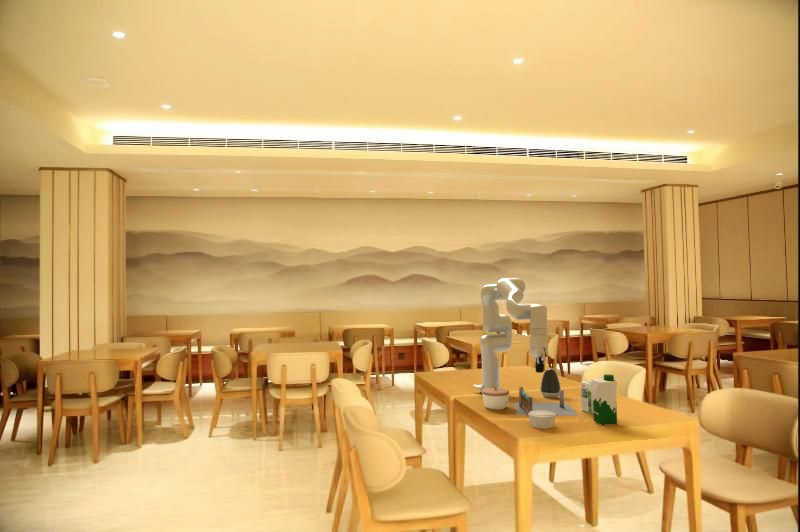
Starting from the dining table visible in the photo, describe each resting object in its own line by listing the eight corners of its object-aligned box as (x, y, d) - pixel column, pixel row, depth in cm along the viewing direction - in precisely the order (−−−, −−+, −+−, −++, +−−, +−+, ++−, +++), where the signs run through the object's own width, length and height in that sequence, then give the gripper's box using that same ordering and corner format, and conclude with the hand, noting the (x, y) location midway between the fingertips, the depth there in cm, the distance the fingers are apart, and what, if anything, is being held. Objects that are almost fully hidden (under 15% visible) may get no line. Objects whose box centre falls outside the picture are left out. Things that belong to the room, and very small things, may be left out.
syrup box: (581, 413, 239) (580, 381, 240) (591, 412, 242) (590, 380, 242) (589, 416, 234) (589, 383, 235) (600, 414, 236) (599, 382, 237)
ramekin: (544, 431, 213) (543, 418, 213) (522, 425, 222) (522, 413, 222) (561, 426, 219) (561, 413, 219) (540, 421, 228) (539, 408, 228)
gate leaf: (520, 406, 247) (520, 390, 248) (523, 406, 248) (523, 390, 248) (529, 414, 232) (528, 397, 232) (532, 414, 232) (532, 397, 232)
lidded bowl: (493, 414, 240) (493, 390, 240) (477, 408, 251) (476, 385, 252) (515, 410, 246) (514, 387, 246) (498, 405, 257) (497, 382, 257)
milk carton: (620, 425, 220) (619, 376, 220) (599, 425, 219) (598, 377, 219) (610, 419, 228) (609, 373, 229) (590, 420, 228) (589, 373, 228)
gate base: (517, 417, 235) (517, 393, 235) (513, 404, 258) (513, 383, 259) (578, 418, 231) (577, 394, 231) (568, 405, 255) (567, 383, 255)
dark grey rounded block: (562, 396, 274) (561, 367, 274) (559, 400, 264) (558, 370, 265) (542, 395, 278) (541, 366, 279) (538, 399, 269) (538, 369, 269)
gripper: (524, 330, 246) (525, 369, 246) (537, 333, 231) (538, 375, 231) (539, 330, 247) (540, 369, 247) (553, 333, 233) (554, 374, 232)
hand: (539, 372), depth 239 cm, fingers closed
